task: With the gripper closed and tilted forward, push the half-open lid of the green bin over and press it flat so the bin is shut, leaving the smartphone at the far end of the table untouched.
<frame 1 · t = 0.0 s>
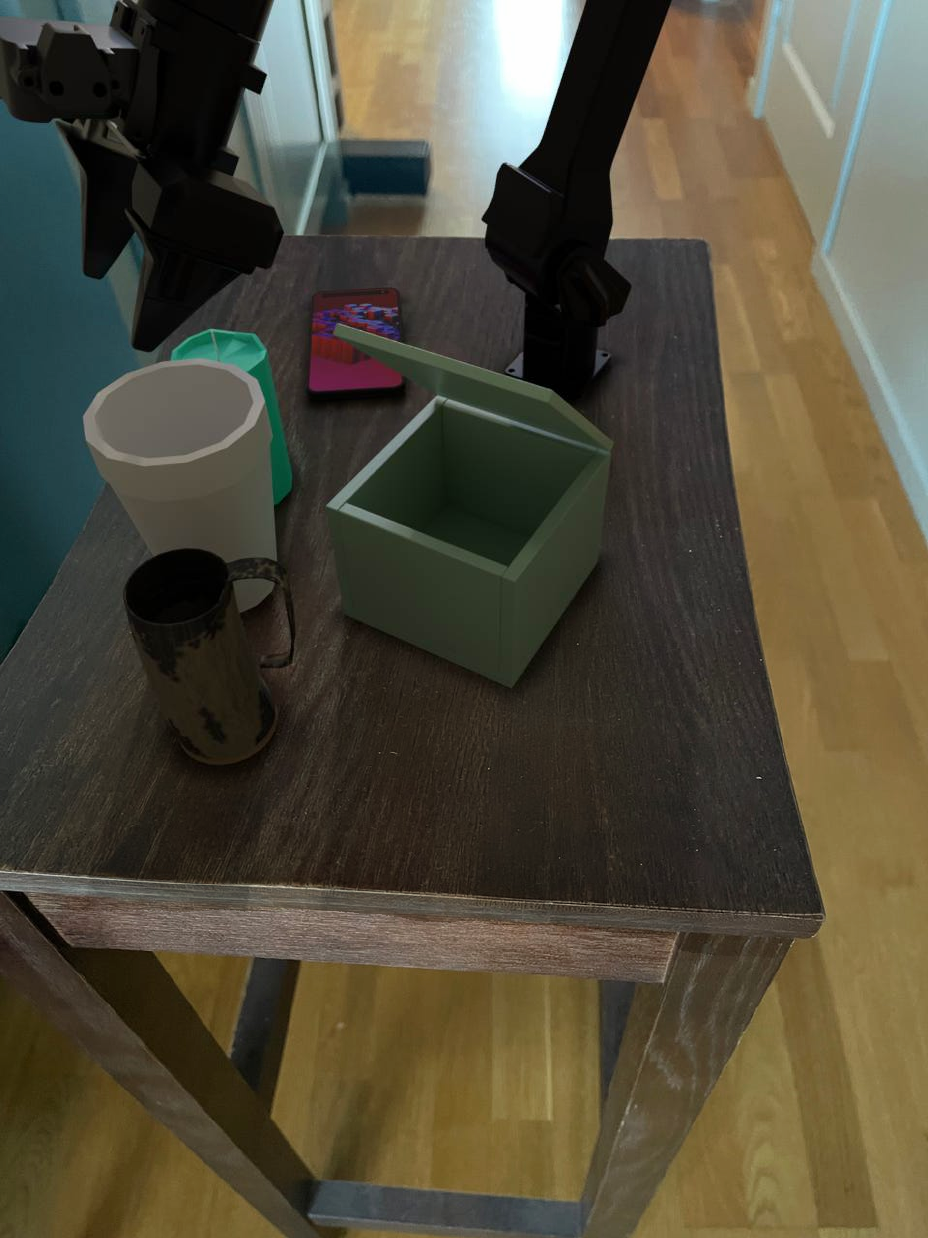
hand: (114, 311, 51), 15 cm above the table, tool tilted 35°, fingers open, 9 cm apart
mug: (247, 723, 51), on the table
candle: (250, 487, 64), on the table
bin lid: (484, 392, 48), point 14 cm above the table, hinge at 45.0°
green bin: (473, 587, 57), on the table
foam cup: (228, 581, 58), on the table
smartphone: (356, 347, 75), on the table
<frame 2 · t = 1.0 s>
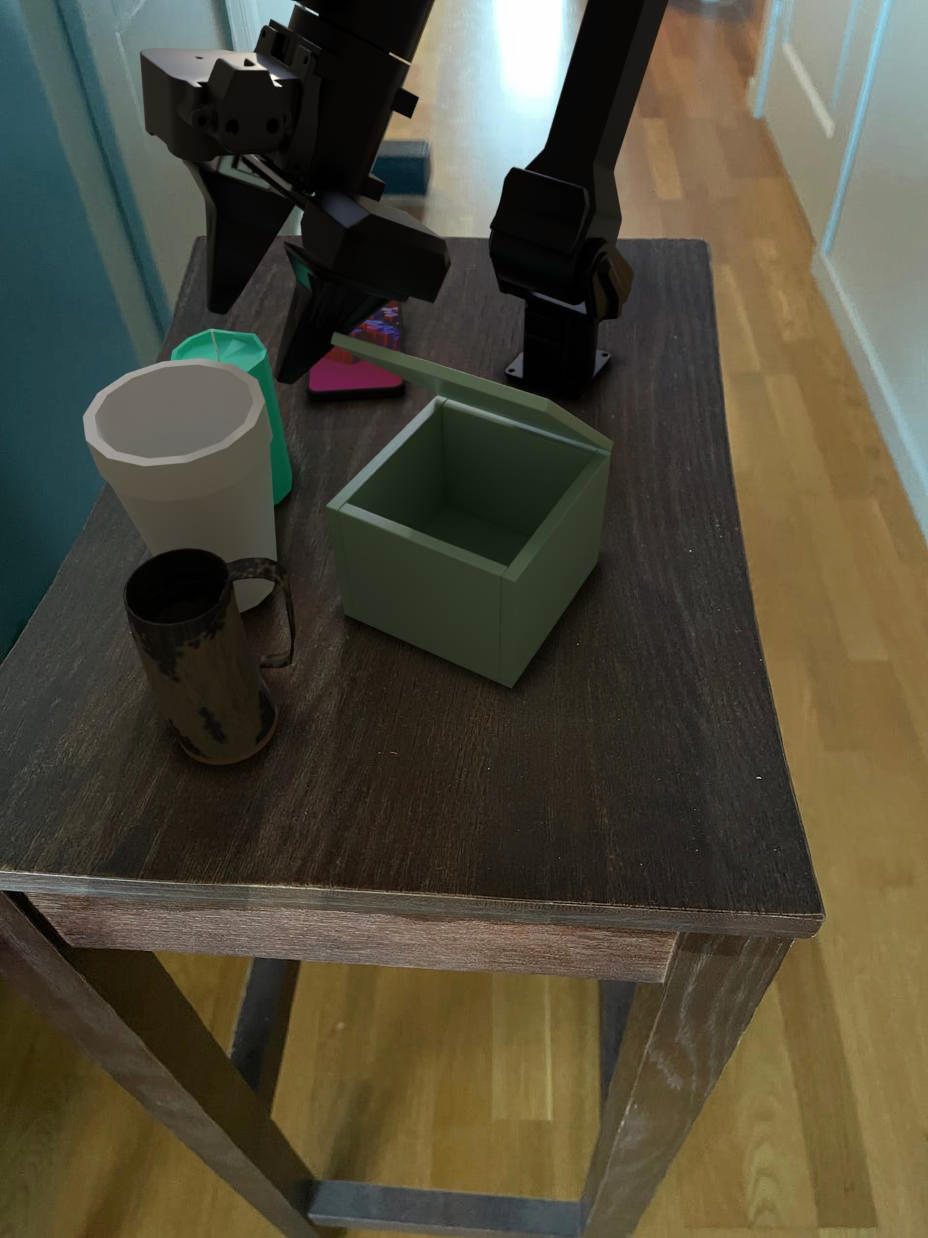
hand: (248, 345, 49), 14 cm above the table, tool tilted 30°, fingers open, 8 cm apart
bin lid: (482, 396, 48), point 13 cm above the table, hinge at 43.0°, touching gripper
everything else where it was.
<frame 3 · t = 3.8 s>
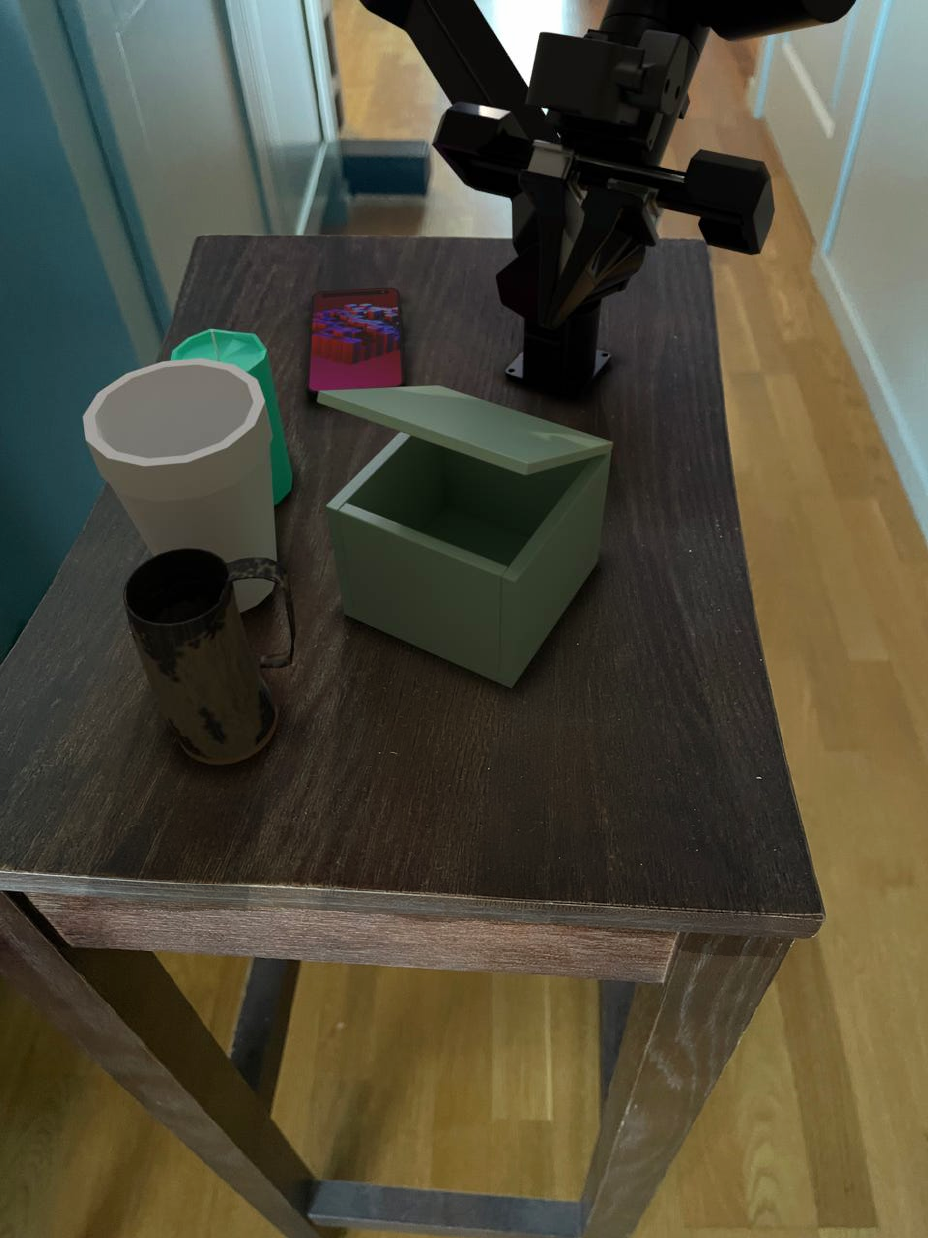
hand: (546, 326, 52), 14 cm above the table, tool tilted 45°, fingers closed
bin lid: (475, 423, 48), point 12 cm above the table, hinge at 29.6°
everything else where it was.
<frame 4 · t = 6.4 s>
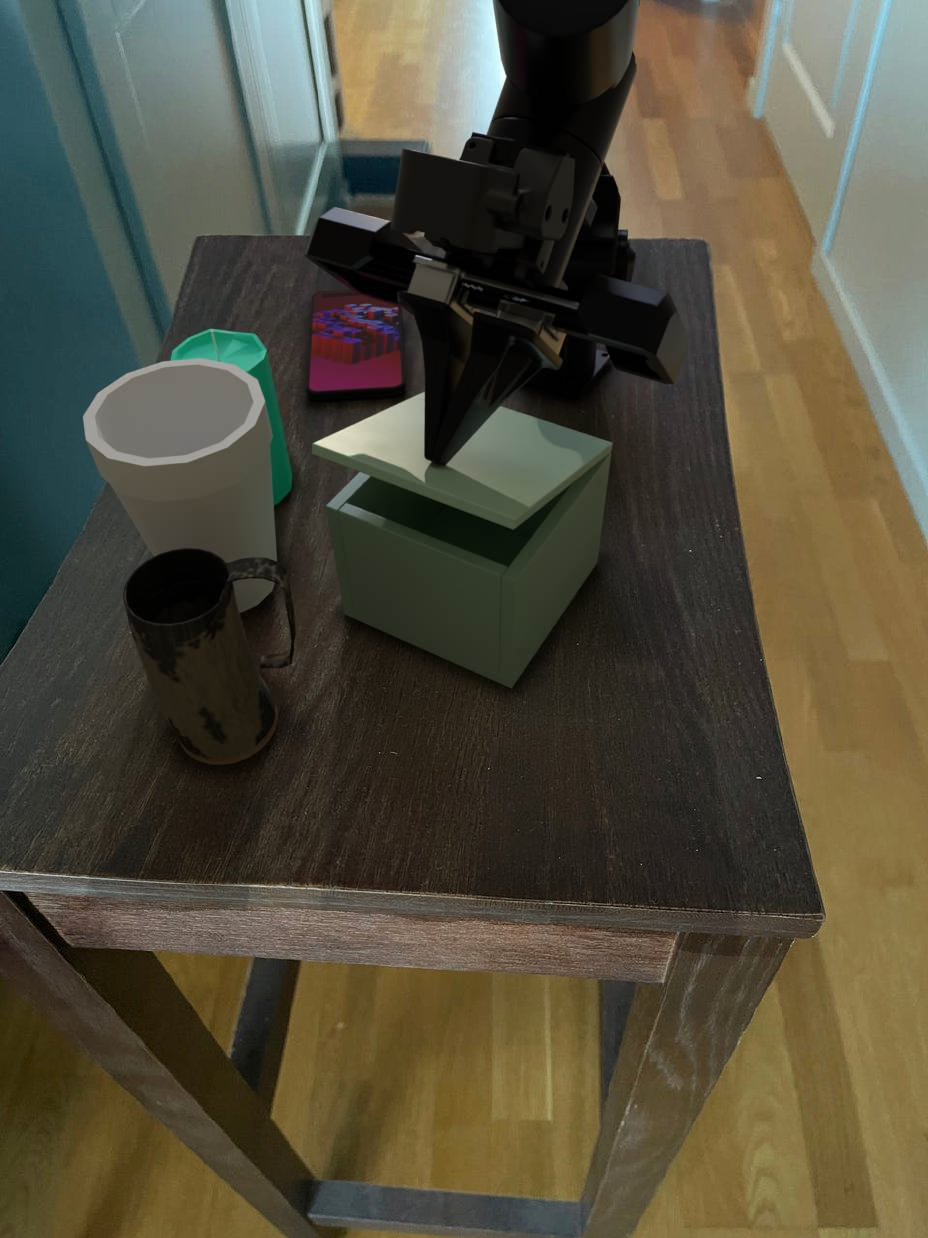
hand: (434, 462, 45), 13 cm above the table, tool tilted 45°, fingers closed
bin lid: (470, 447, 49), point 11 cm above the table, hinge at 17.2°
everything else where it was.
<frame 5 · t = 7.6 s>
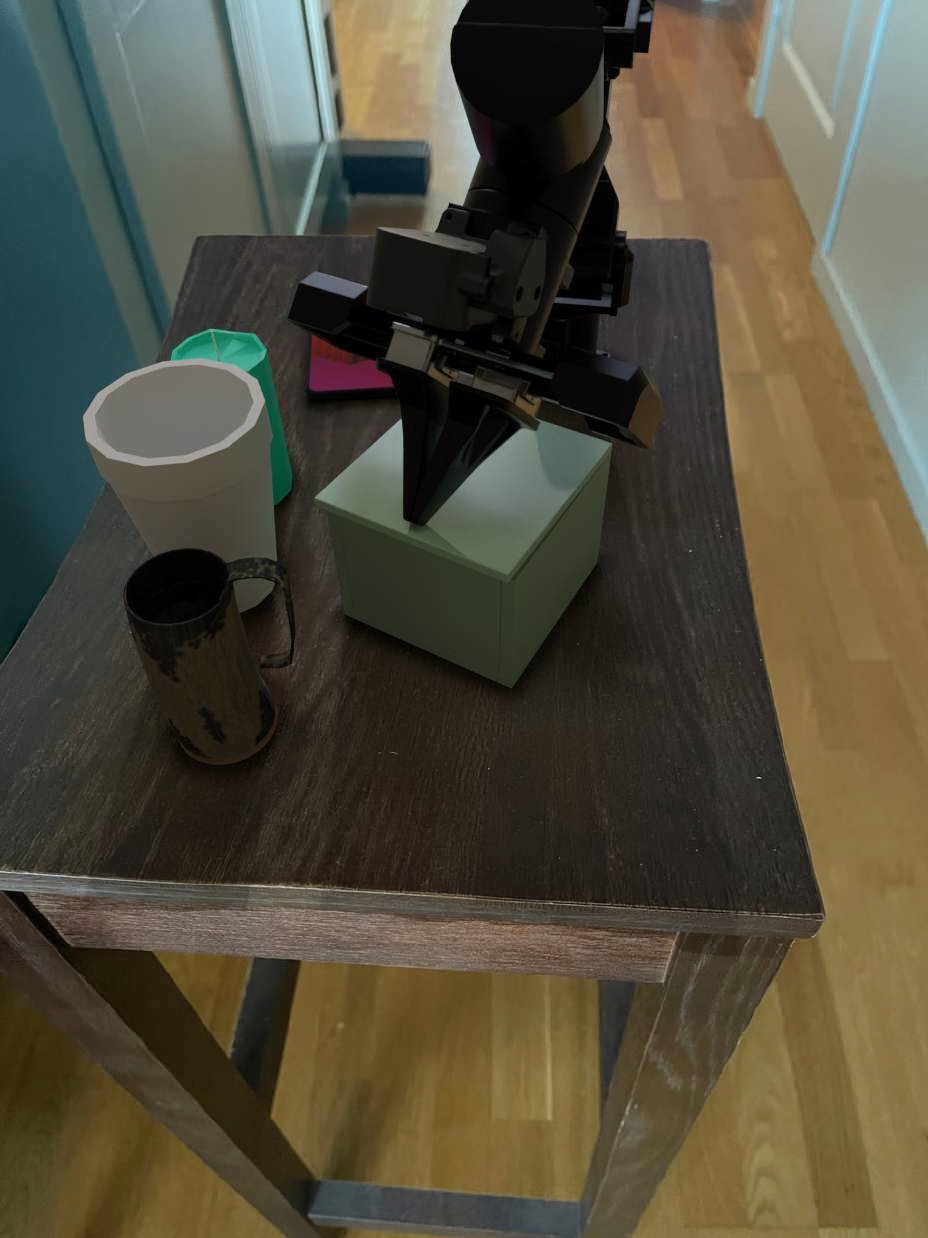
hand: (413, 523, 46), 10 cm above the table, tool tilted 45°, fingers closed, pressing on bin lid
bin lid: (468, 473, 50), point 9 cm above the table, hinge at 2.4°, touching gripper
everything else where it was.
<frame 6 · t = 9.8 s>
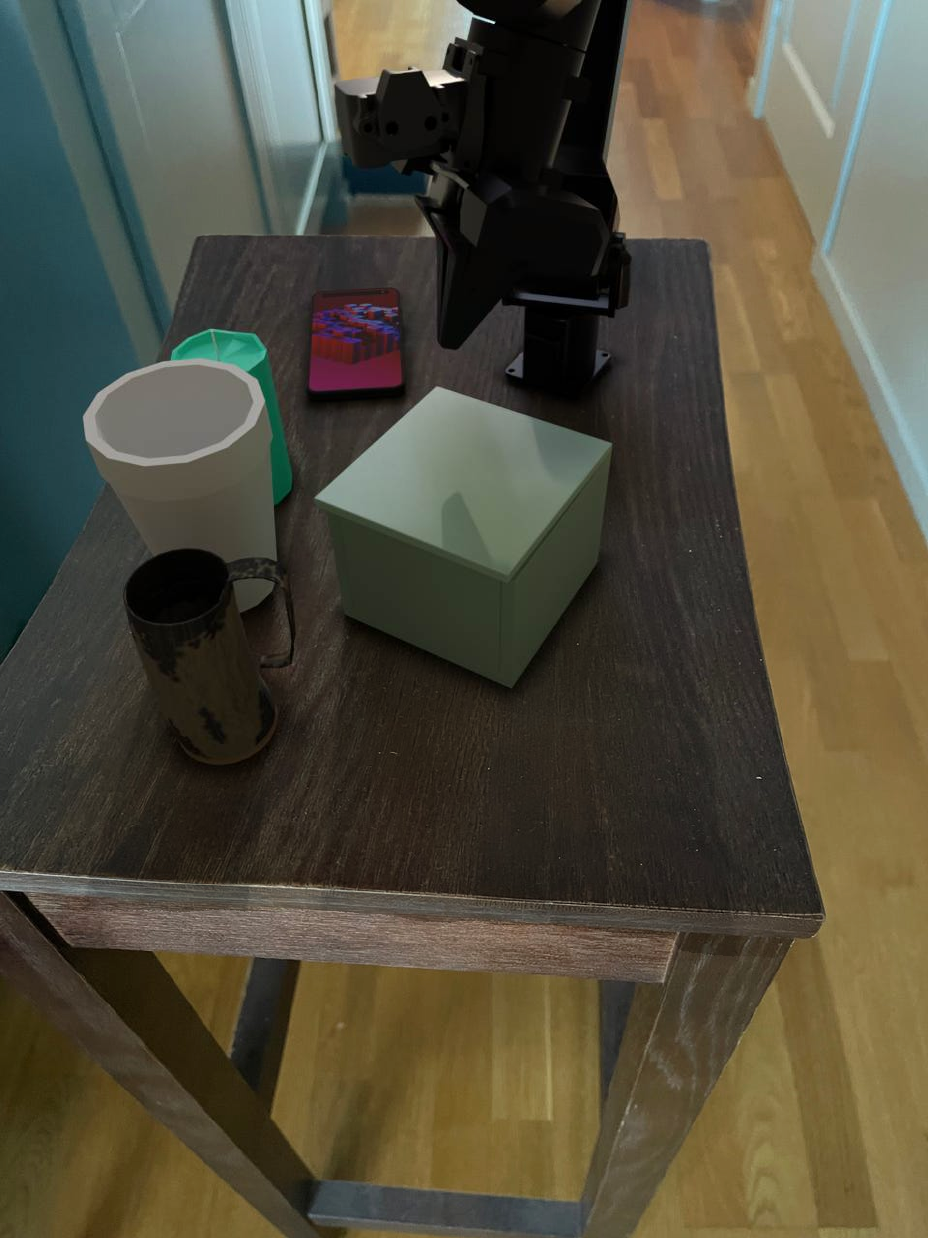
hand: (447, 346, 52), 13 cm above the table, tool tilted 20°, fingers closed
bin lid: (468, 473, 50), point 9 cm above the table, hinge at 2.3°
everything else where it was.
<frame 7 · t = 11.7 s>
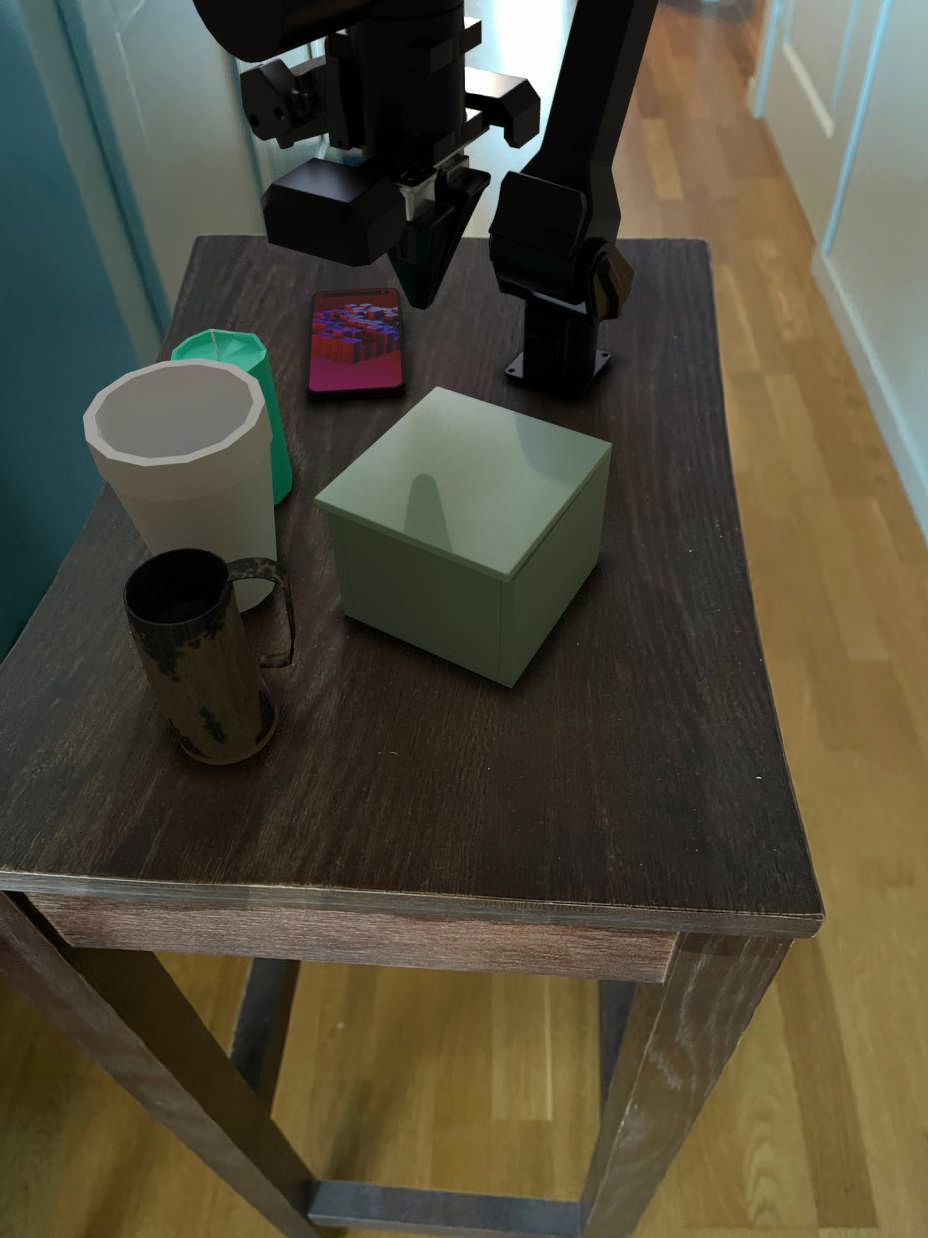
hand: (421, 305, 55), 13 cm above the table, tool pointing down, fingers closed
nothing on the table moved.
at the end: bin lid at +2° (first picture: +45°); smartphone moved 0.0 cm from its start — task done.
